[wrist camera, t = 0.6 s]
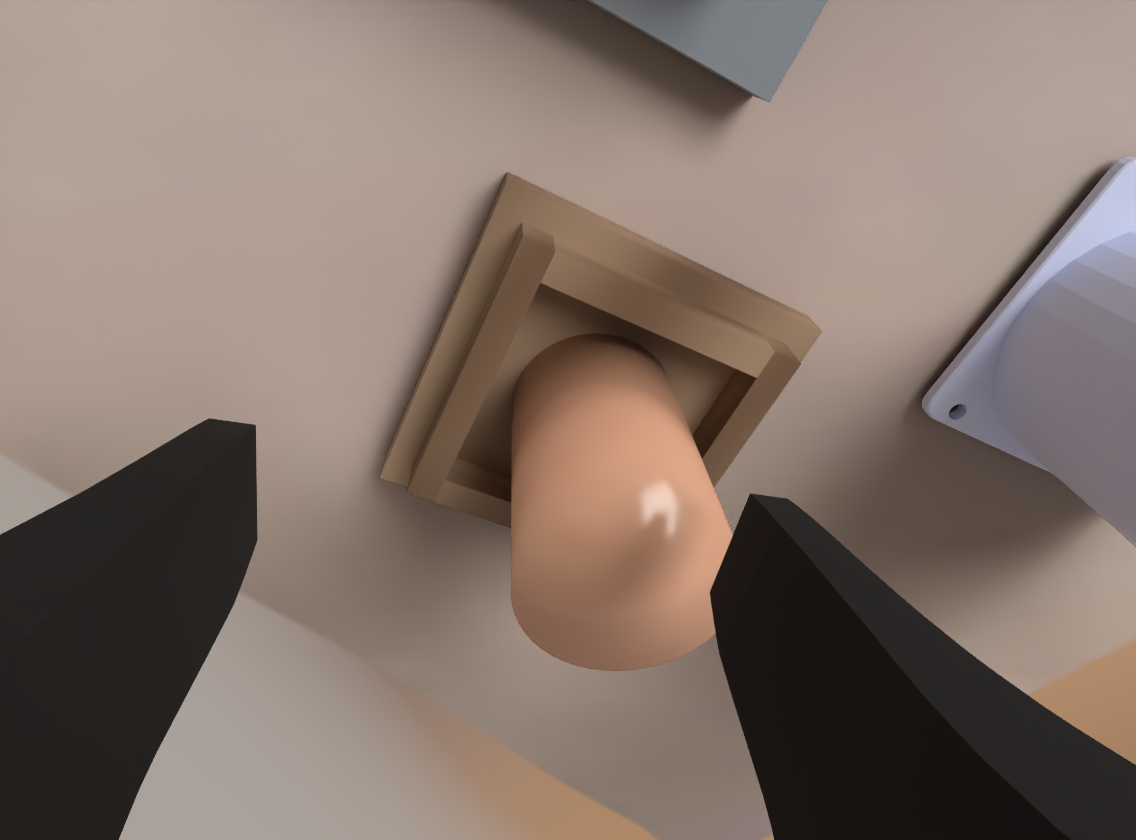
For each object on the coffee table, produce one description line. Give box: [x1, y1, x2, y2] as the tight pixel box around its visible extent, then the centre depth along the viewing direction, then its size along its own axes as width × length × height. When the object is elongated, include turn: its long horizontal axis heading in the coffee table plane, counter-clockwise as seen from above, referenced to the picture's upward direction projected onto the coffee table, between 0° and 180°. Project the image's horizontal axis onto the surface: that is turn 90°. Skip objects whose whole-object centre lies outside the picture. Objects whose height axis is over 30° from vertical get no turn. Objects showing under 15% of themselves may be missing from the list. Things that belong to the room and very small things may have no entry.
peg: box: [511, 333, 733, 671], centre depth 16 cm, size 4×4×7 cm
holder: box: [380, 172, 822, 528], centre depth 19 cm, size 9×9×2 cm
